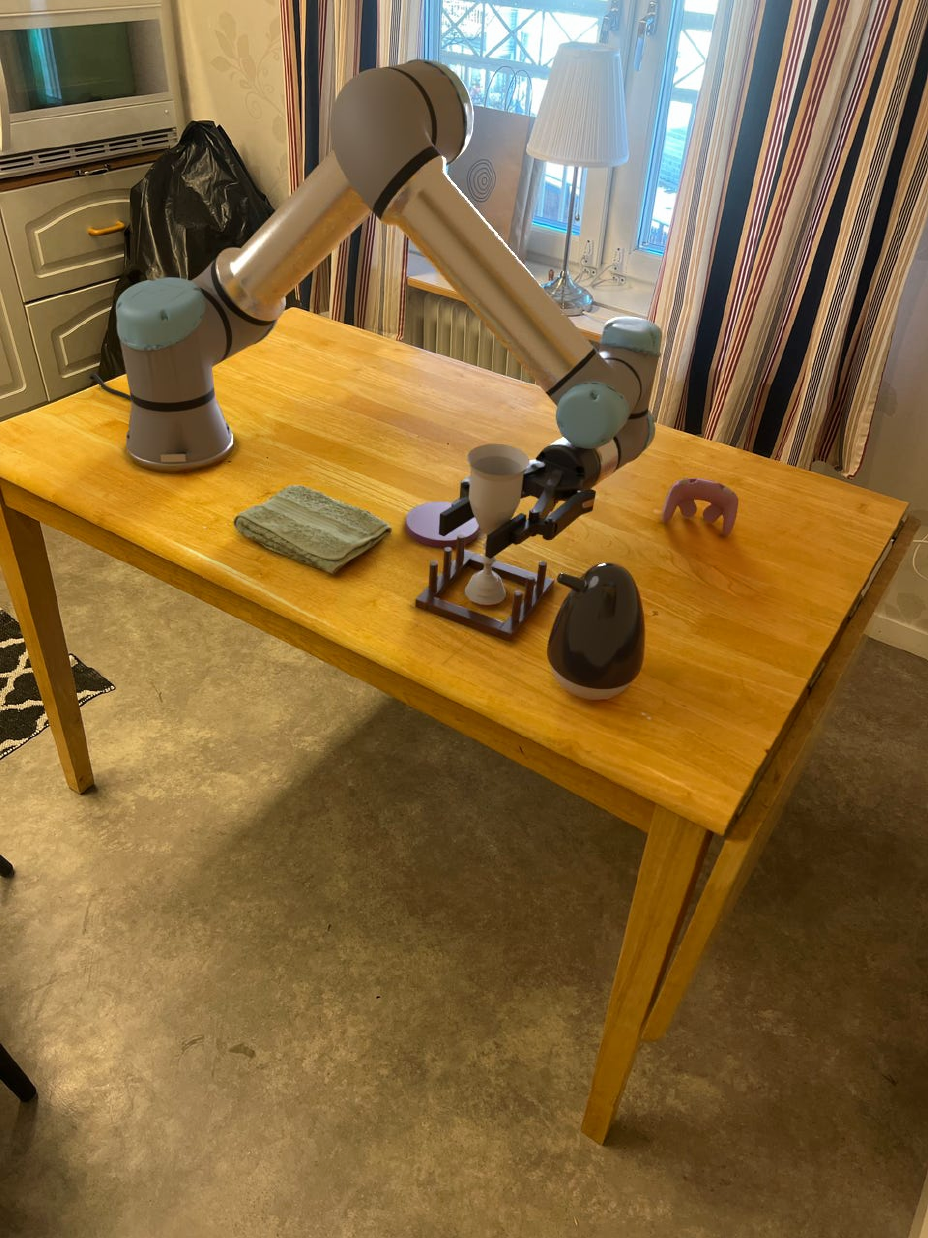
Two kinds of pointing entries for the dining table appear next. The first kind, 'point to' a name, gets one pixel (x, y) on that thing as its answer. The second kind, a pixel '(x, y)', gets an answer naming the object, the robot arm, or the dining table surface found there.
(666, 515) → the video game controller
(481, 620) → the drying rack
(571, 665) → the pump dispenser
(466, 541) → the lid
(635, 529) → the dining table surface
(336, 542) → the washcloth
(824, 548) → the dining table surface
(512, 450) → the chalice
